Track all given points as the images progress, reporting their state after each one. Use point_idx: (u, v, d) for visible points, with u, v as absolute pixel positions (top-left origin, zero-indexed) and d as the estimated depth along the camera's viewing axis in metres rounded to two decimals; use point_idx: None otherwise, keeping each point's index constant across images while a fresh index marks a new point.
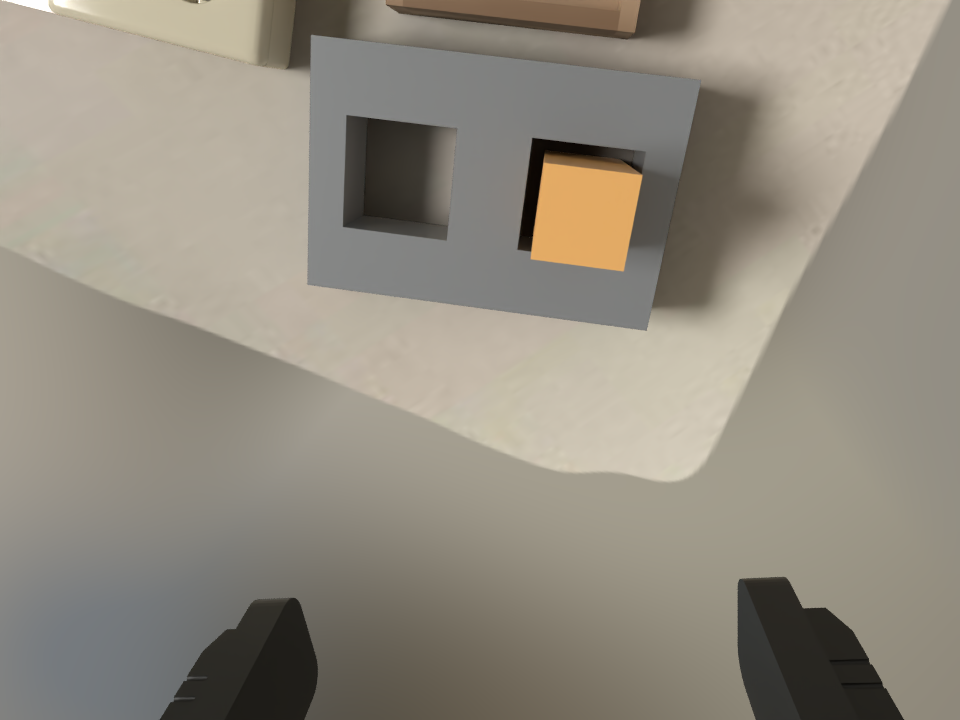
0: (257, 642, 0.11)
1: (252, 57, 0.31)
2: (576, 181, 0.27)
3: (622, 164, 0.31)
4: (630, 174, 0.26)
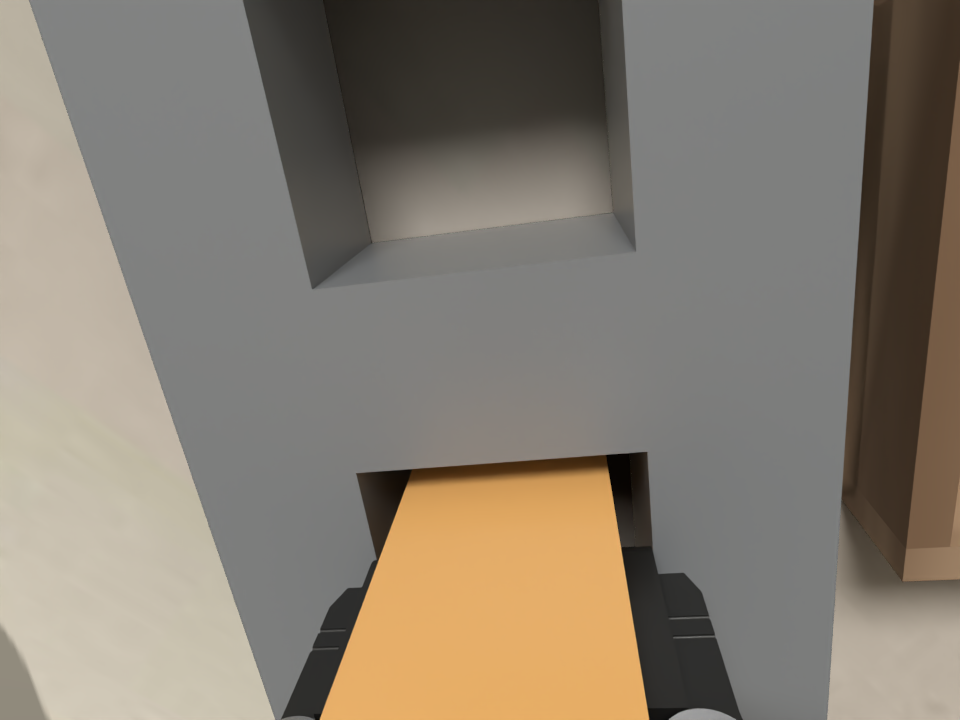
0: None
1: None
2: None
3: None
4: None
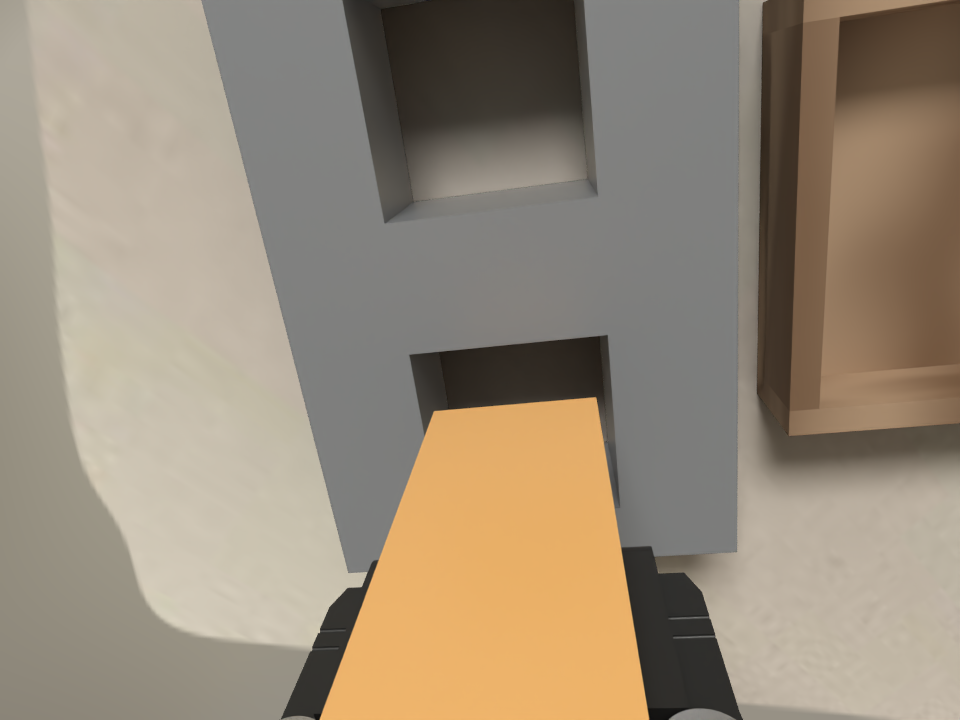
0: None
1: None
2: None
3: None
4: None
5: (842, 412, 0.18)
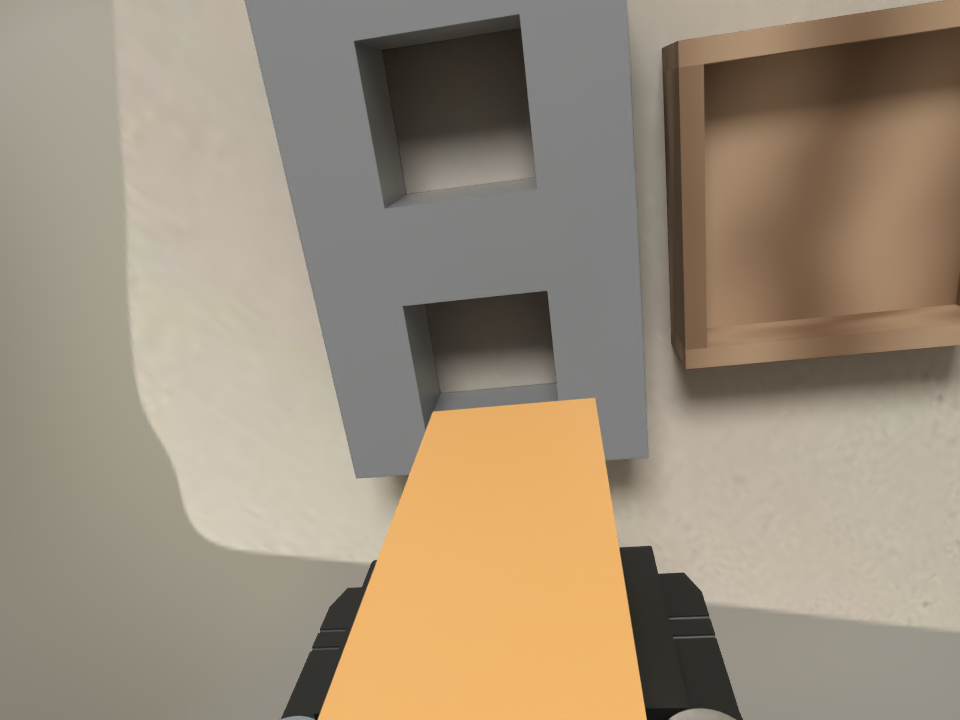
0: None
1: None
2: None
3: None
4: None
5: (723, 350, 0.25)
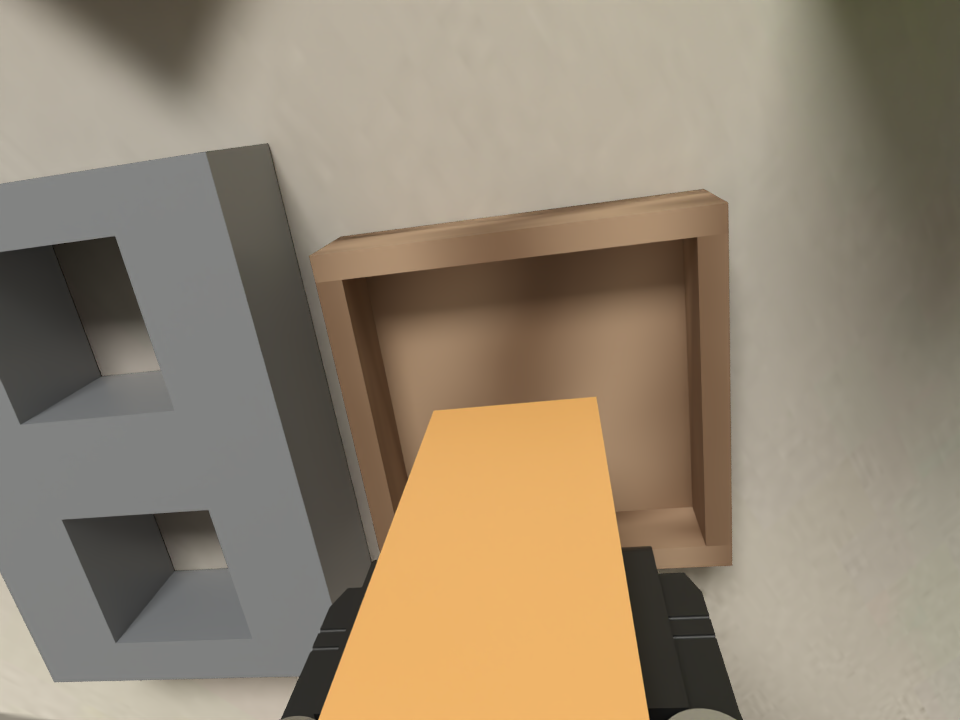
0: None
1: None
2: None
3: None
4: None
5: None
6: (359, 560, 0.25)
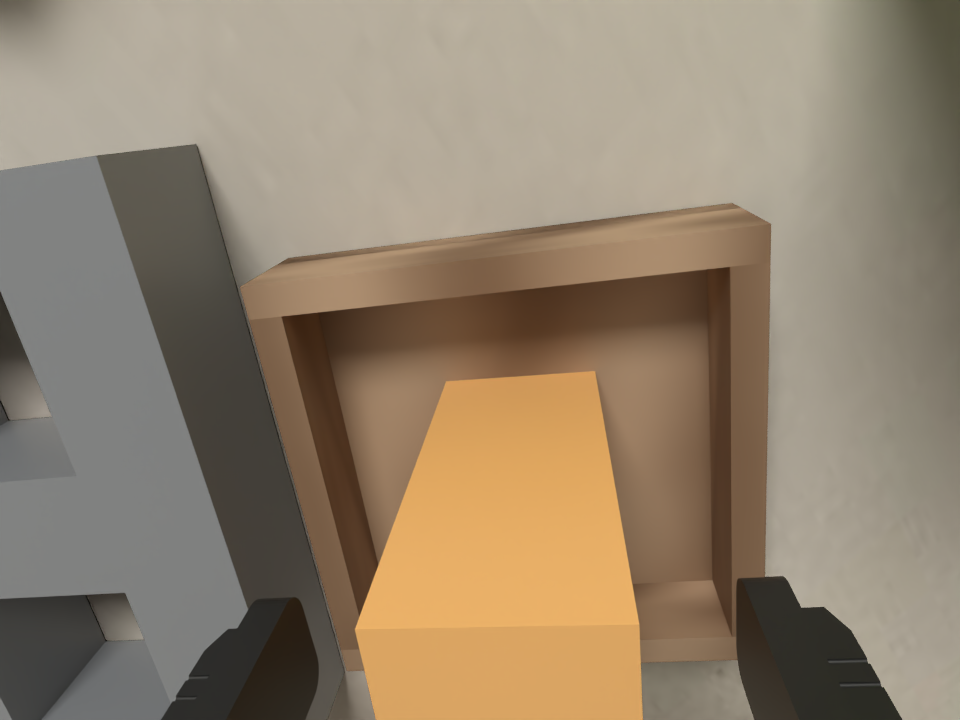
0: (259, 641, 0.11)
1: None
2: (601, 702, 0.09)
3: None
4: None
5: None
6: (317, 637, 0.21)
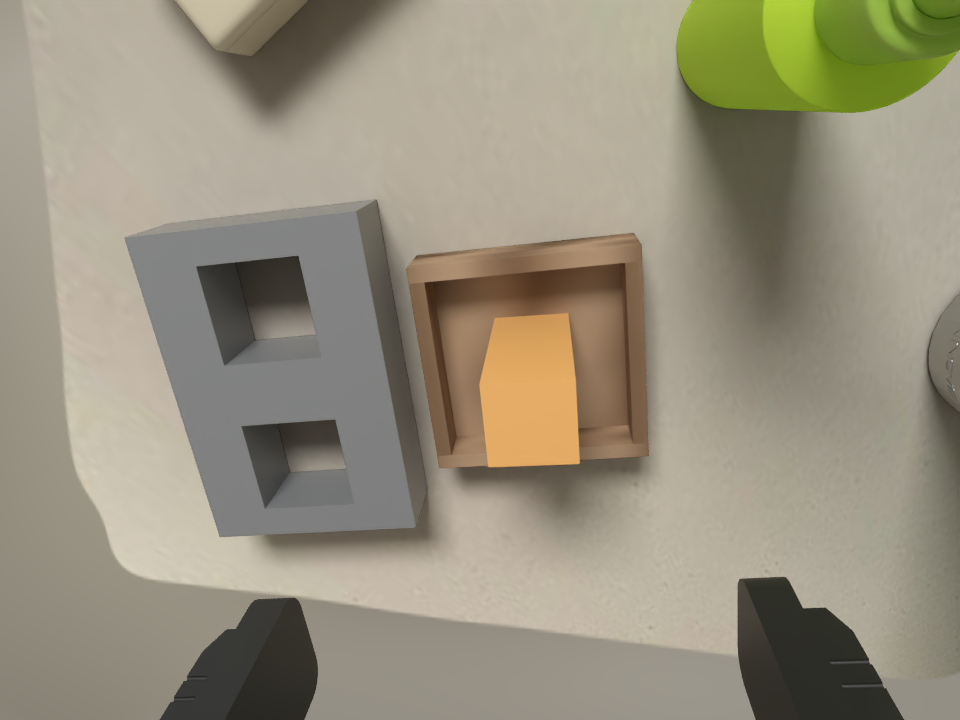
0: (257, 642, 0.11)
1: None
2: (563, 410, 0.27)
3: None
4: (578, 453, 0.28)
5: (462, 457, 0.36)
6: (417, 461, 0.39)
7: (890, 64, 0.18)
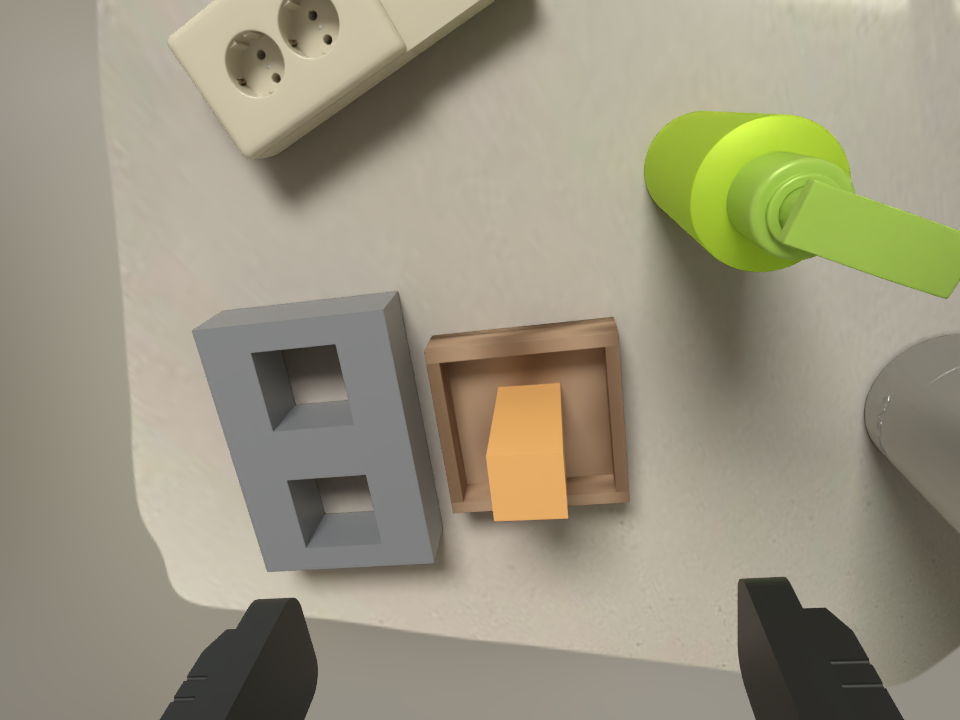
0: (257, 642, 0.11)
1: (171, 41, 0.34)
2: (553, 477, 0.34)
3: (565, 466, 0.39)
4: (566, 510, 0.35)
5: (472, 503, 0.43)
6: (434, 505, 0.46)
7: None
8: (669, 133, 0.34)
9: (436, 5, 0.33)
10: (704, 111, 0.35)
